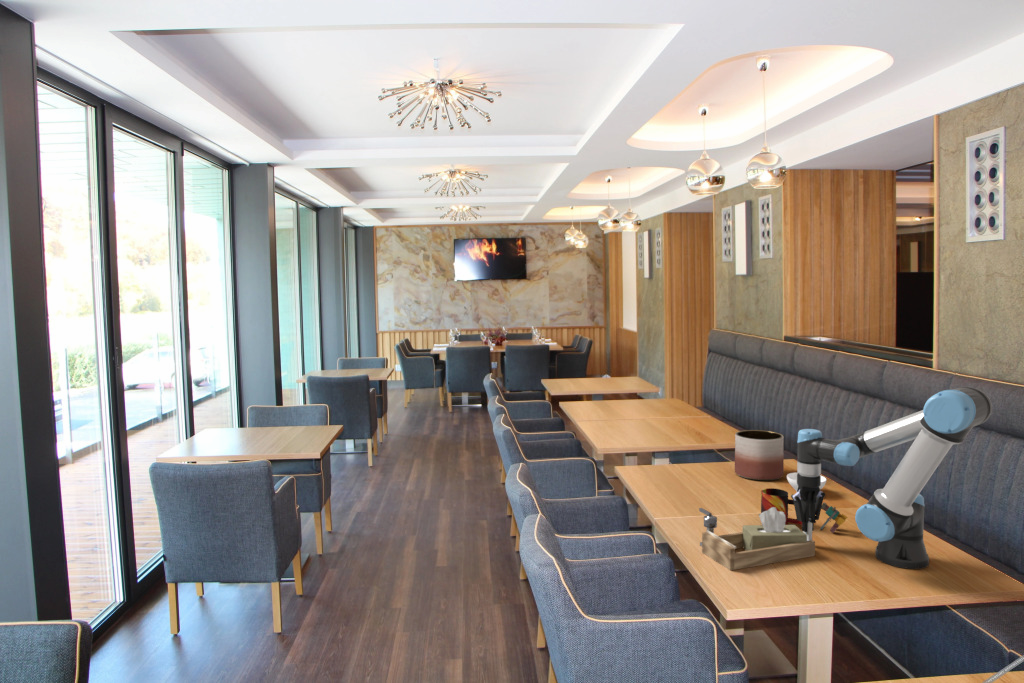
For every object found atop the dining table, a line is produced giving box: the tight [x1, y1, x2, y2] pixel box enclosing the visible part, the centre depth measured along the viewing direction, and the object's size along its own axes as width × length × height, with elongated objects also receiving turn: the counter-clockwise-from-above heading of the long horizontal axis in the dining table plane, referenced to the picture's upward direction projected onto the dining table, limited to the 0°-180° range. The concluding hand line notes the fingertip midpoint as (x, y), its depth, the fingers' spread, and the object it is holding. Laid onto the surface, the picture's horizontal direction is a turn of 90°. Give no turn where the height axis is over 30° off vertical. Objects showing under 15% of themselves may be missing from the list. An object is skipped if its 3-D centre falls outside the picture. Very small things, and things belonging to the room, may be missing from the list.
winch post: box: [698, 507, 718, 547], centre depth 229 cm, size 8×5×12 cm, turn 18°
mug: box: [760, 487, 802, 526], centre depth 249 cm, size 10×14×12 cm
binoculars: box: [819, 502, 848, 534], centre depth 241 cm, size 9×9×10 cm
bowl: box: [786, 472, 827, 493], centre depth 285 cm, size 16×16×7 cm
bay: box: [701, 529, 816, 571], centre depth 220 cm, size 15×34×8 cm, turn 108°
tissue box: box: [741, 507, 807, 551], centre depth 222 cm, size 19×10×16 cm, turn 89°
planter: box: [734, 429, 785, 482], centre depth 313 cm, size 22×22×20 cm
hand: (807, 540), depth 227 cm, fingers closed
